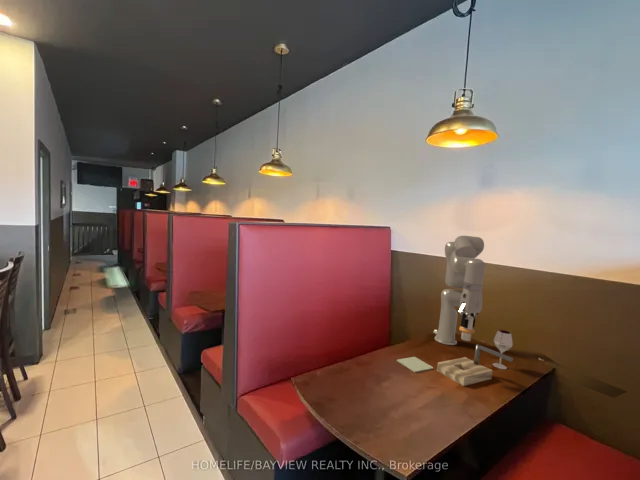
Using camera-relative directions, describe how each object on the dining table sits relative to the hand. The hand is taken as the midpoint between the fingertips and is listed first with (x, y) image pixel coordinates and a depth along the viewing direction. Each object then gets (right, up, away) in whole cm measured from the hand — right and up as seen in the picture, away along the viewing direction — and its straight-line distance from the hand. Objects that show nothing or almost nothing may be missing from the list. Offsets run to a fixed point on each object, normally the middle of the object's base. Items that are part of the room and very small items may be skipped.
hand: (467, 326), depth 141 cm
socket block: (-1, -23, +2) cm, 23 cm away
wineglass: (+24, -25, +16) cm, 38 cm away
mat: (-22, -21, +8) cm, 31 cm away
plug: (-1, -6, 0) cm, 6 cm away
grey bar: (+11, -20, 0) cm, 23 cm away
